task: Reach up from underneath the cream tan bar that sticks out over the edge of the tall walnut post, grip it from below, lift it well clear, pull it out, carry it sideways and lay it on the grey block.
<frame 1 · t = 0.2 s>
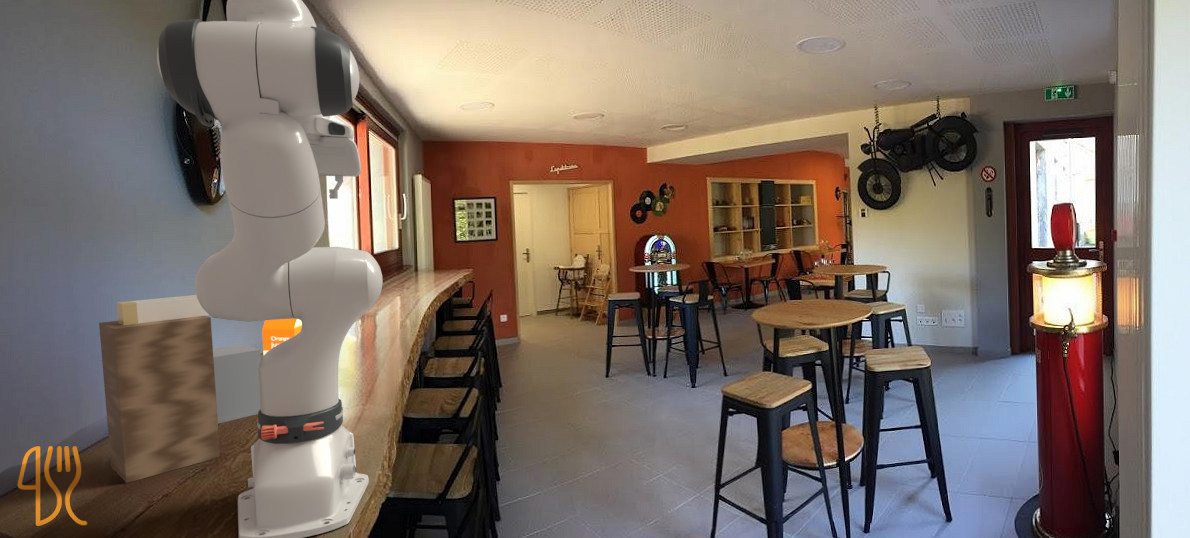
hand: (308, 198, 121), 48 cm above the table, tool pointing down, fingers open, 8 cm apart
grey block: (231, 413, 136), on the table
walnut post: (166, 462, 109), on the table
cream tan bar: (188, 316, 111), point 26 cm above the table, touching walnut post
orange juice: (288, 378, 167), on the table
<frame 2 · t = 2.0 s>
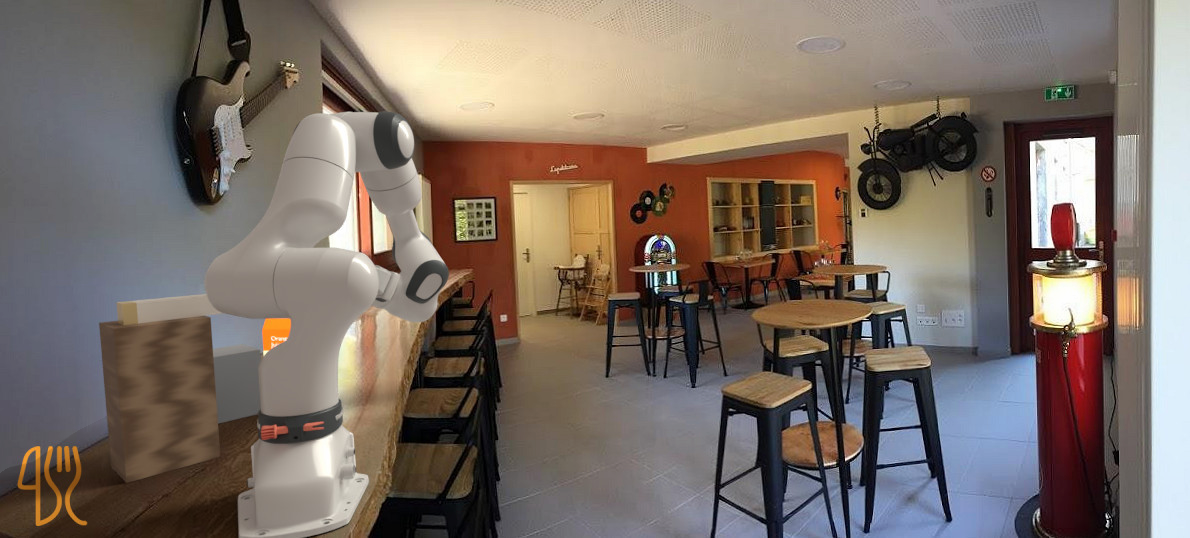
hand: (320, 259, 129), 35 cm above the table, tool pointing upward, fingers open, 8 cm apart
nothing on the table moved.
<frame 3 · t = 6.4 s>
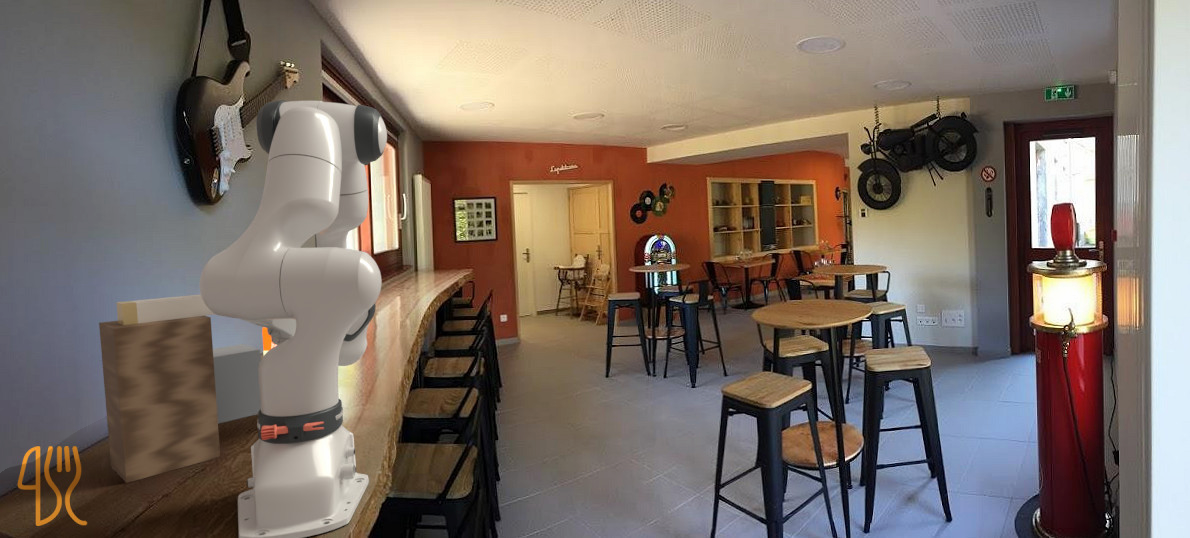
hand: (225, 300, 115), 28 cm above the table, tool pointing upward, fingers closed on cream tan bar, 4 cm apart
cream tan bar: (188, 316, 111), point 26 cm above the table, touching gripper, walnut post
everything else where it was.
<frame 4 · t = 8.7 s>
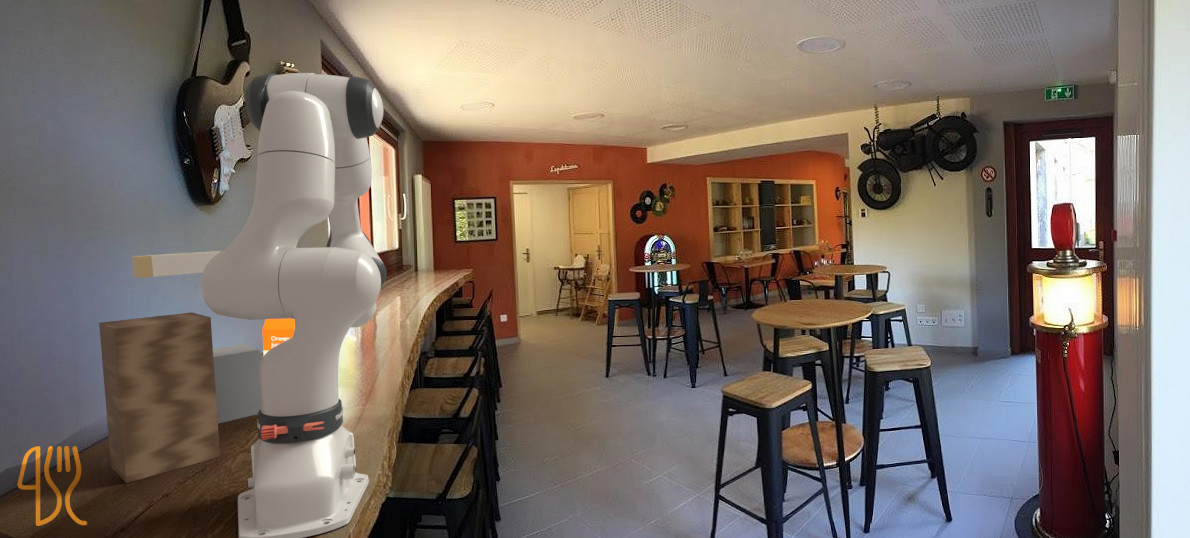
hand: (237, 257, 117), 36 cm above the table, tool pointing upward, fingers closed on cream tan bar, 4 cm apart
cream tan bar: (202, 271, 112), point 34 cm above the table, touching gripper
everything else where it was.
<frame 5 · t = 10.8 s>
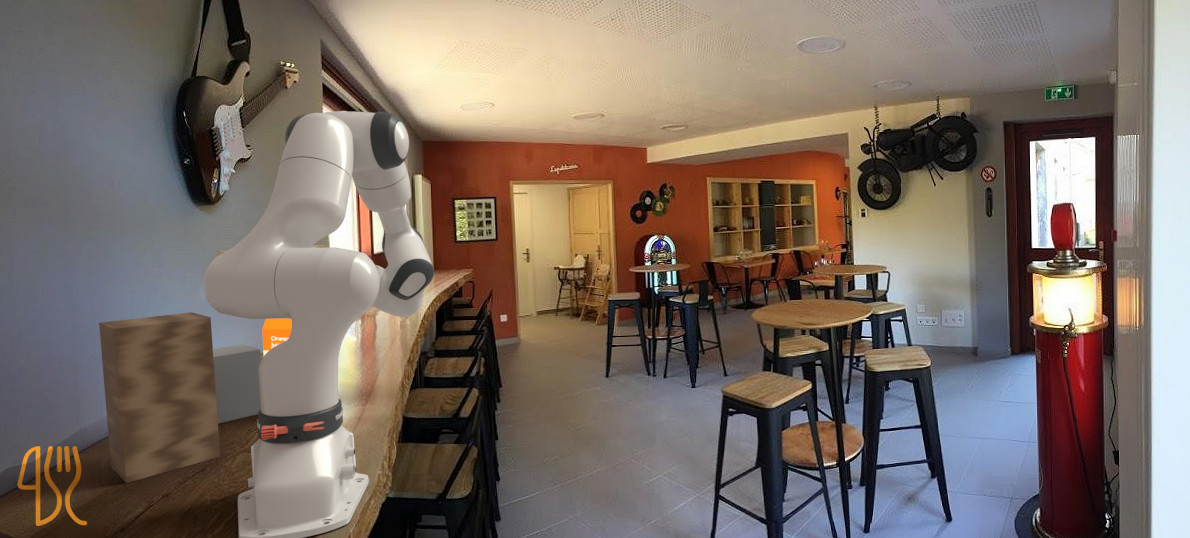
hand: (305, 252, 130), 36 cm above the table, tool pointing upward, fingers closed on cream tan bar, 4 cm apart
cream tan bar: (275, 265, 126), point 34 cm above the table, touching gripper
everything else where it was.
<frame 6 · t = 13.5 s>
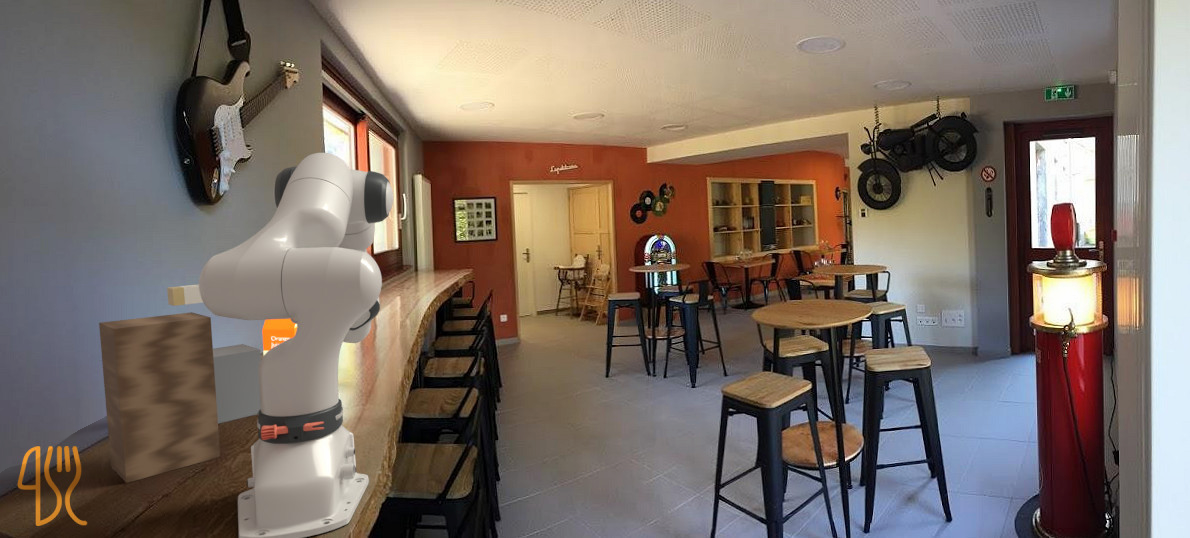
hand: (253, 285, 138), 29 cm above the table, tool pointing upward, fingers closed on cream tan bar, 4 cm apart
cream tan bar: (224, 298, 134), point 26 cm above the table, touching gripper
everything else where it was.
when the fingers open (19 cm above the table, at t = 15.5 s): cream tan bar drops 2 cm, resting on grey block.
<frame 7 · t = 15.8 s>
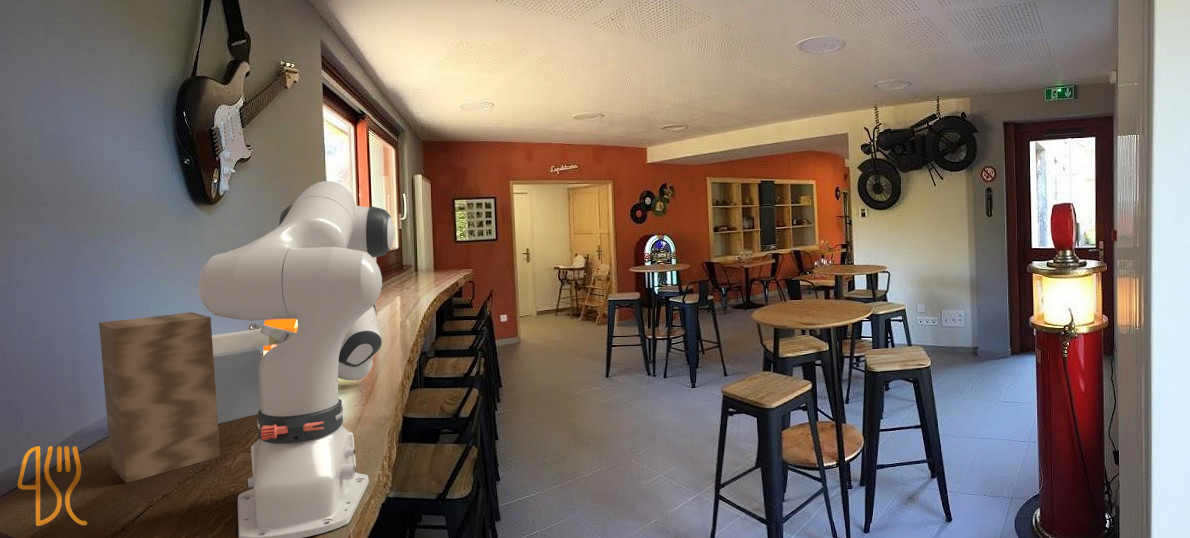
hand: (255, 327, 139), 19 cm above the table, tool pointing upward, fingers open, 6 cm apart
cream tan bar: (228, 350, 135), point 14 cm above the table, touching grey block
everything else where it was.
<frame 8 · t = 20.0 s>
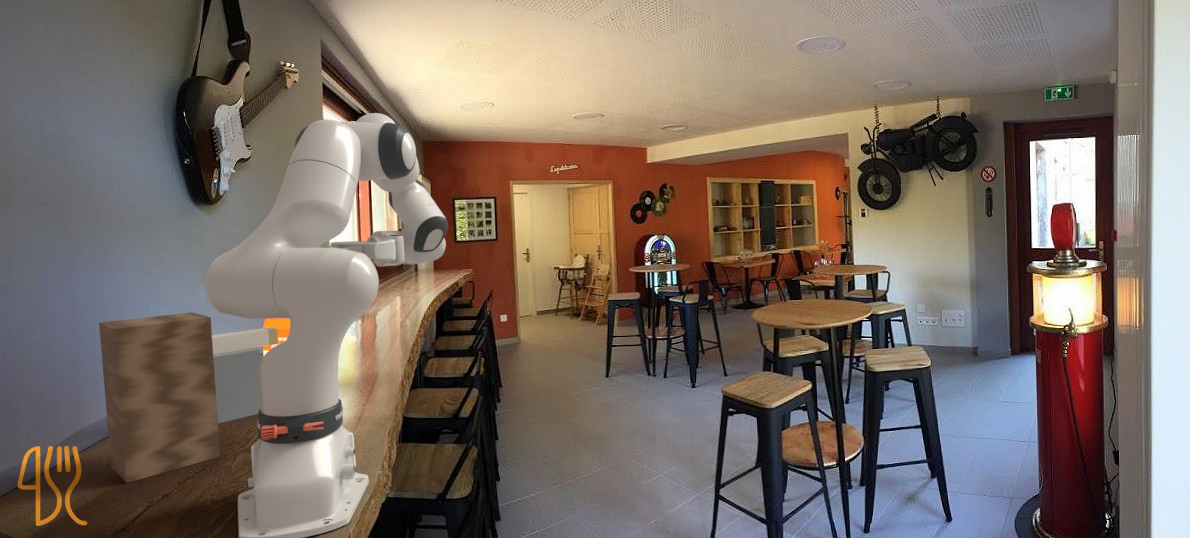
hand: (330, 251, 140), 36 cm above the table, tool horizontal, fingers open, 8 cm apart
nothing on the table moved.
at the end: cream tan bar inside the target area on the grey block (0.2 cm from its centre), point 14.5 cm above the grey block's base; cream tan bar touching grey block; the gripper is holding nothing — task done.
